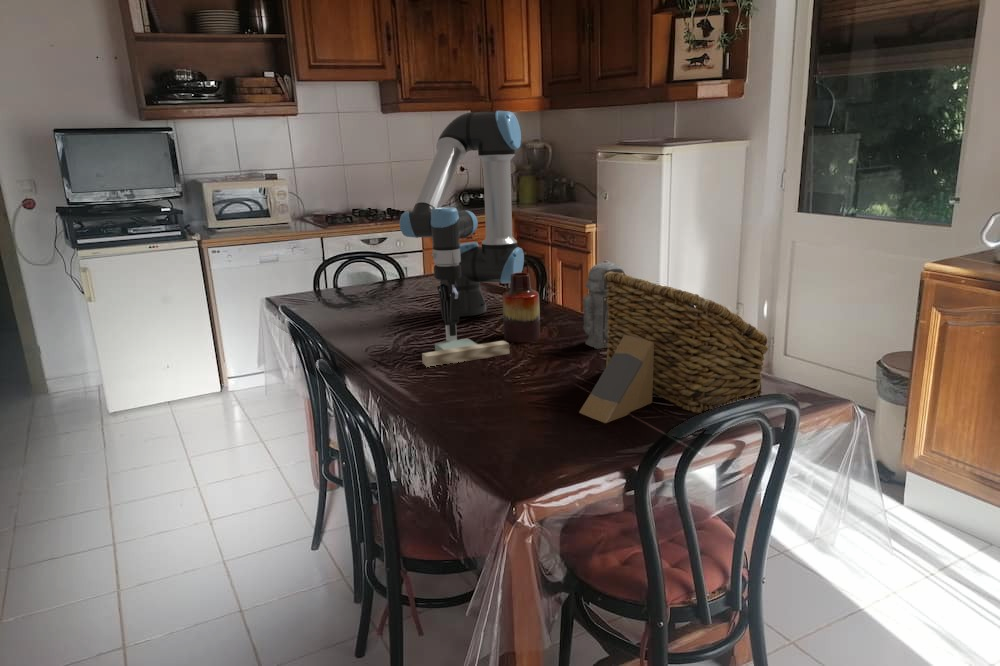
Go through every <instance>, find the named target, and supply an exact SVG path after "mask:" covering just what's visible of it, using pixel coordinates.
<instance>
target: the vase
mask: <svg viewBox="0 0 1000 666" xmlns="http://www.w3.org/2000/svg"><path fill="white" fill-rule="evenodd" d="M509 284H510V285H509V286H510V287H509V288H510V289H509V290H507V291H505V292H503V294H502V319H503V320H502V321H503V322H502V323H503V339H504V341H506V342H507V341H508V342H510V343H511V342H512V343H520V344H521V343H530V342H531V343H532V342H535V341H538V340H540V339H541V321H540V320H541V316H540V315H541V314H540V312H541V310H540V294H539V292H538V291H537V290H534V289H532V286H531V278H530V273H528V272H521V273H513V274H511V283H509Z"/></svg>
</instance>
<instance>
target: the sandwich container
mask: <svg viewBox="0 0 1000 666" xmlns="http://www.w3.org/2000/svg"><path fill="white" fill-rule="evenodd" d="M653 361H654V342H652V341H648V340H644V339H641V338H637V337H632V336H628V335H624V336H623V338H622V340H621V342H620V343H619V345H618V347H617V349H616V351H615V353H614V355H613V356H612V358H611V360H610V361H609V363H608V365H607V367H606V366H605V369H603V372H602V373H601V375H600V377H599V379H598V380H597V382H596V384H595V385H594V387H593V389H592V390H591V392H590V394H589V395H588V397H587V399H586V400H585V402H584V403H583V405H582V406H581V408H580V409H579V412H578V413H579V414H581V415H583V416H586V417H589V418H591V419H593V420H595V421H596V420H597V421H599V422H601V423H603V424H607V423H610V422H613V421H615V420H618V419H621V418H623V417H626V416H628V415H630V414H631V415H632V413H631V412H634V411H636V410H638V409H641V408H644V407H646V406H647V405H650V404H652V403H653Z"/></svg>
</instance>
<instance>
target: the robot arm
mask: <svg viewBox="0 0 1000 666" xmlns="http://www.w3.org/2000/svg"><path fill="white" fill-rule="evenodd" d="M521 142H522V132H521V126H520V123H519V120H518V118H517V117H516V115H515V113H513V112H511V111H510V110H506V111H505V110H494V111H493V110H492V111H480V112H465V113H463V114H460V115H459V116H456V118H455V119H453V120H452V121H450V122H449V124H448V125H446V126H445V128H444V130H443V131H442V132H441V133H440V135H439V137H438V139H437V141H436V145H435V146H436V153H435V155H434V158H433V160H432V163H431V165H430V167H429V170H428V172H427V174H426V177H425V179H424V183H423V184H422V187H421V189H420V193H419V194H418V196H417V199H416V202H415V204H414V205H413V208H412V210H408V211H404V212H403V213H401V215H400V218H399V223H398V224H399V230H400V232H401V234H402V235H403V236H404V237H407V238H416V239H419V238H431V240H432V253H431V257H432V259H433V264H434V266H433V273H434V274H433V275H434V278H435V280H438V281H440V283H439V285H437V287H436V288H437V292H438V298H439V306H440V311H441V312H440V313H441V319H442V320H443V321H444V325H445V342H447V341H453V340H458V336H457V335H458V334H457V333H458V332H457V324H459V323H460V318H461V317H473V316H478V315H482V314H484V313H486V312H487V303H486V301H485V298H484V295H483V293H482V290H481V283H495V284H496V283H498V284H503V285H504V284H511V274H513V273H523V268H524V263H525V262H524V261H525V253H524V250H523V248H521V247H519V246H518V240H516V239H515V238H514V236H513V216H512V215H513V214H512V211H513V209H512V208H513V207H512V179H511V178H512V175H511V173H512V172H511V171H512V170H511V161H512V159H513V158H514V157H515V155H516V154H515V153H516V151H515V150H518V149H519V148H520V147H521ZM471 151H477V152H478V153H477V154H478V156H477V157H478V158H479V159H480V160H482V162H483V164H482V165H483V187H484V188H483V190H484V217H485V218H484V219H485V238H484V239H483V240H482V241H481V246H480V244H479V243H478V242H477V241H476V242H475V241H474V242H473V241H472V242H462V243H460V239H464V238H468V237H470V236H472V235H473V234H474V233H475V232H476V231H477V228H478V226H479V225H478V224H479V222H478V218H477V216H476V215H475V214H474V213H473V212H472V211H470V210H468V209H467V210H464V209H462V210H461V209H460V210H458V209H457V207H452V206H443V203H444V202H445V199H446V196H447V194H448V191H449V189H450V185H451V184H452V180H453V178H454V175H455V173H456V170H457V169H458V168H457V167H458V165H459V164H460V161H461V160H463V159H464V158H465V157H466V154H467V152H471ZM442 206H443V207H442Z"/></svg>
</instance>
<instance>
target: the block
mask: <svg viewBox="0 0 1000 666" xmlns="http://www.w3.org/2000/svg"><path fill="white" fill-rule="evenodd" d="M478 344H479V343H477V342H475V341H473V340H472V339H470V338H461V339H460V338H459V339H457V340H453V341H447V342H446V341H441V342H435V343H434V351H440V350H446V349H453V348H459V347H465V346H472V345H478Z"/></svg>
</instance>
